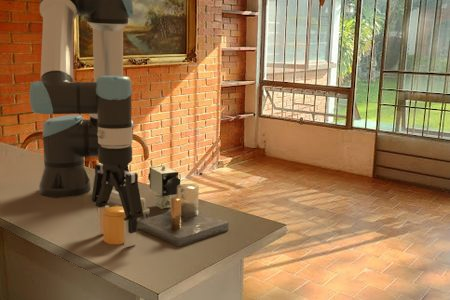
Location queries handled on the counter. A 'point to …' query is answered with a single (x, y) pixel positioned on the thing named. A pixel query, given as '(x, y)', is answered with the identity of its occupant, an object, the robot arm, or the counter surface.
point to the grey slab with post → (183, 220)
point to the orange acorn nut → (114, 225)
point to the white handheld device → (116, 200)
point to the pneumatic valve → (163, 184)
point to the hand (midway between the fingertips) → (116, 238)
